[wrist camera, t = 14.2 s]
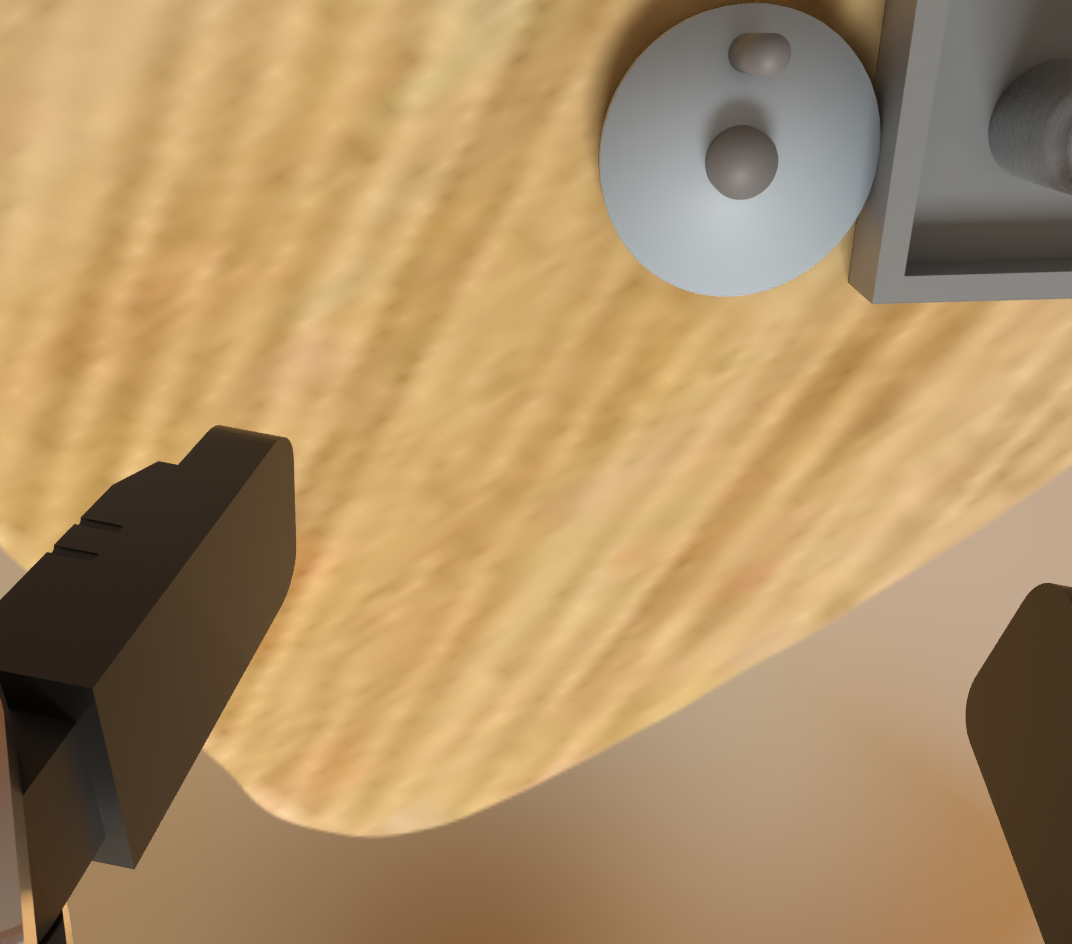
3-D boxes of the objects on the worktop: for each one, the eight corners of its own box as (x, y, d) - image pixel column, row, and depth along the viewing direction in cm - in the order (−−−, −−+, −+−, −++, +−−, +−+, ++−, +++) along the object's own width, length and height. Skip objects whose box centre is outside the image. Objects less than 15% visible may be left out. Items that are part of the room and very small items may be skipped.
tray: (895, -71, 28) (929, -81, 26) (1265, -88, 28) (1339, -101, 25) (848, 282, 34) (872, 304, 31) (1156, 274, 33) (1207, 295, 31)
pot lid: (598, 10, 30) (604, 5, 25) (886, -3, 29) (949, -10, 24) (599, 290, 34) (604, 332, 29) (848, 282, 34) (895, 324, 29)
